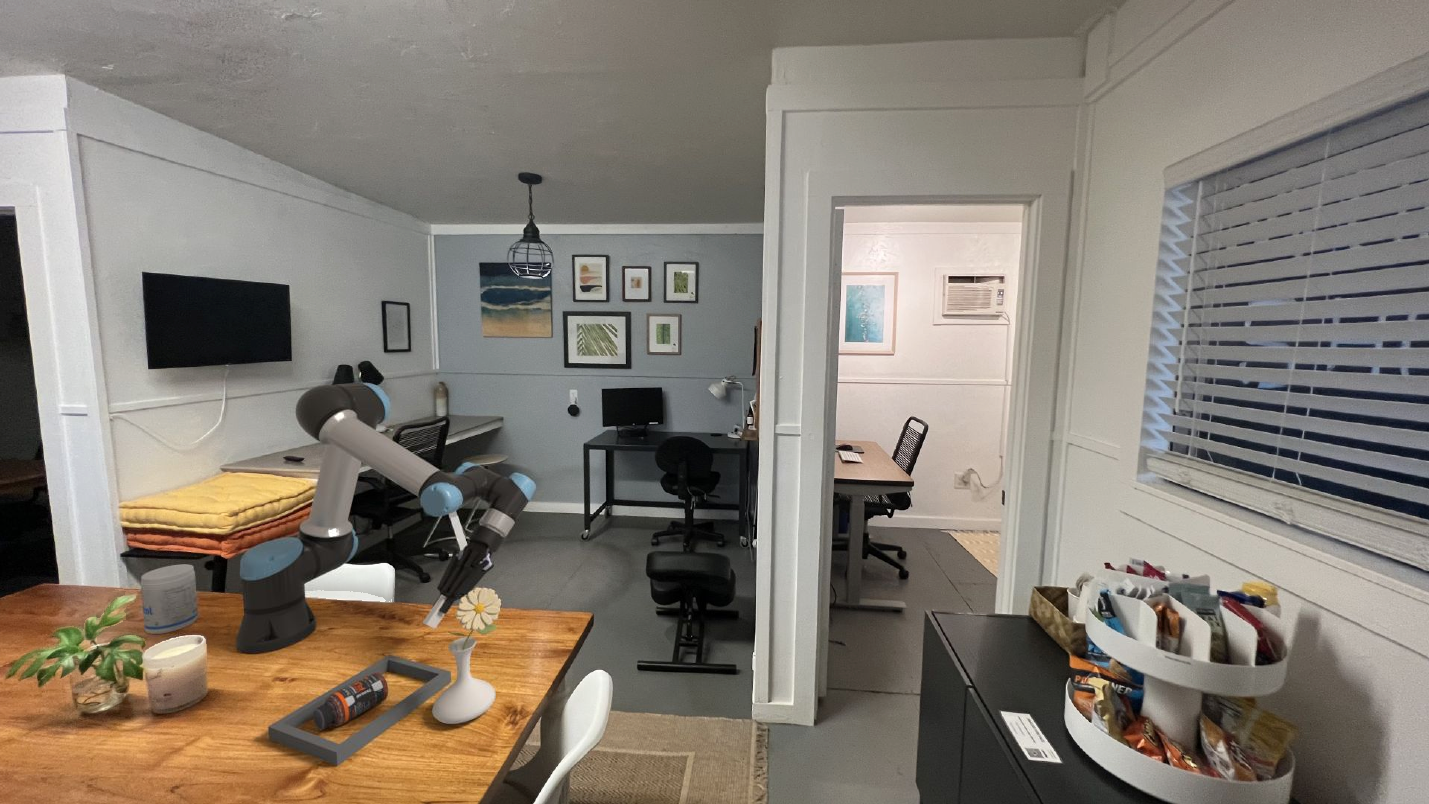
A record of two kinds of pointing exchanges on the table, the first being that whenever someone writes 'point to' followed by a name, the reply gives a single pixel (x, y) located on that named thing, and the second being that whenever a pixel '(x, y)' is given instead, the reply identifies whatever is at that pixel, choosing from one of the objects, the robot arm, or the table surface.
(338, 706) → the supplement bottle
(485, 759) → the table surface
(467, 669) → the flower in vase
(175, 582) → the supplement tub
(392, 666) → the corral
